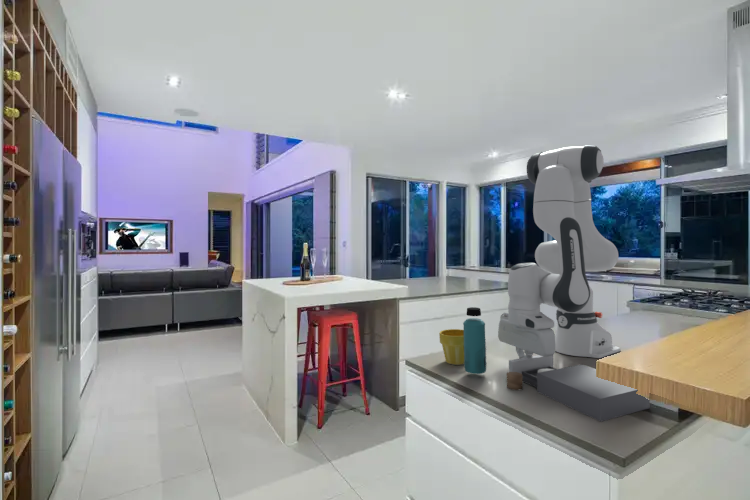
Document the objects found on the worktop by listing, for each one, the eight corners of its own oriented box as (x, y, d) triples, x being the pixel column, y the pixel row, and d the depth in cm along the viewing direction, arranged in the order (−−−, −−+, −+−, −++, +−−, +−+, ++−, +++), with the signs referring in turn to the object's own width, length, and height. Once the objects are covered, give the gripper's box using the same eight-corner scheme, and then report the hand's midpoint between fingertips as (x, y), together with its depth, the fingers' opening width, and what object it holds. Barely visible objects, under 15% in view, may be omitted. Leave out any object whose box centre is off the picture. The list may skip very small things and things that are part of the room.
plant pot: (437, 357, 132) (437, 328, 131) (468, 356, 131) (467, 328, 131) (442, 367, 121) (441, 336, 121) (475, 366, 121) (474, 335, 121)
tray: (509, 376, 111) (508, 360, 111) (549, 369, 116) (549, 353, 116) (560, 400, 94) (560, 381, 94) (604, 390, 99) (604, 372, 99)
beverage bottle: (487, 379, 110) (486, 309, 109) (463, 378, 111) (462, 309, 110) (485, 372, 116) (484, 306, 115) (463, 371, 117) (462, 305, 117)
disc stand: (515, 383, 106) (515, 370, 106) (525, 388, 103) (525, 375, 103) (503, 385, 105) (503, 373, 105) (513, 391, 101) (513, 377, 101)
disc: (548, 372, 111) (548, 367, 111) (568, 379, 105) (568, 373, 105) (532, 376, 108) (532, 370, 108) (551, 383, 102) (551, 377, 102)
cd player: (537, 391, 100) (537, 372, 100) (582, 382, 106) (582, 364, 106) (600, 421, 83) (600, 398, 83) (649, 408, 89) (649, 386, 89)
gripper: (492, 312, 123) (493, 355, 124) (541, 325, 104) (542, 375, 105) (508, 310, 126) (509, 352, 126) (559, 322, 107) (559, 372, 107)
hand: (524, 363), depth 115 cm, fingers closed
